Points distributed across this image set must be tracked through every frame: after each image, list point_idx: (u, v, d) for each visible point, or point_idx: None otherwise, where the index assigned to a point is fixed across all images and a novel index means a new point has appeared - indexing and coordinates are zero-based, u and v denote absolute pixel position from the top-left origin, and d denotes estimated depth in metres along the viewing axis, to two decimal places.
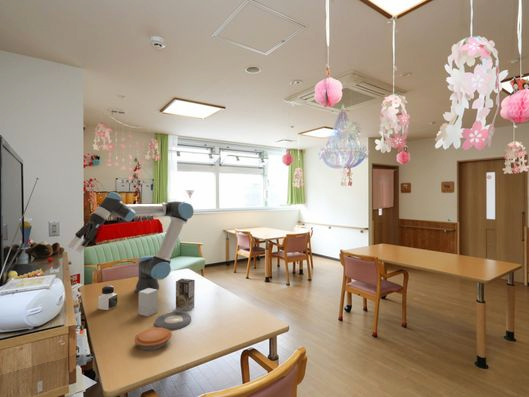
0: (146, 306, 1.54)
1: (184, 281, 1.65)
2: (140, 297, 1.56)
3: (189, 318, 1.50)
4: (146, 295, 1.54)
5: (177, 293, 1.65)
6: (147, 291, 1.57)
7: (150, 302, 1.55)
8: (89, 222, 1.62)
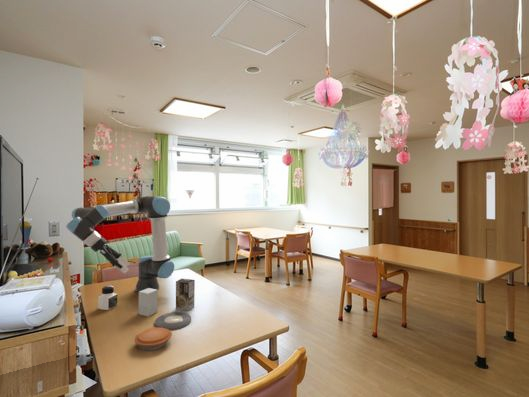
0: (146, 306, 1.54)
1: (184, 281, 1.65)
2: (140, 297, 1.56)
3: (189, 318, 1.50)
4: (146, 295, 1.54)
5: (177, 293, 1.65)
6: (147, 291, 1.57)
7: (150, 302, 1.55)
8: None
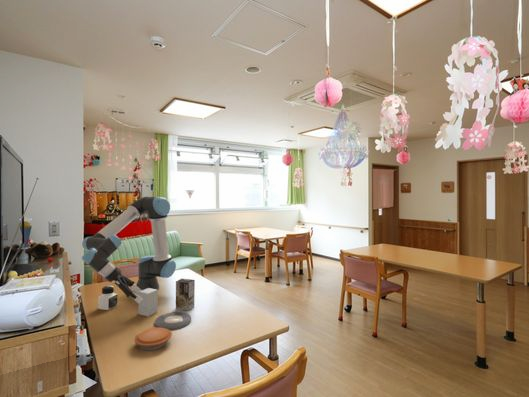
0: (146, 306, 1.54)
1: (184, 281, 1.65)
2: None
3: (189, 318, 1.50)
4: (146, 295, 1.54)
5: (177, 293, 1.65)
6: (147, 291, 1.57)
7: (150, 302, 1.55)
8: None
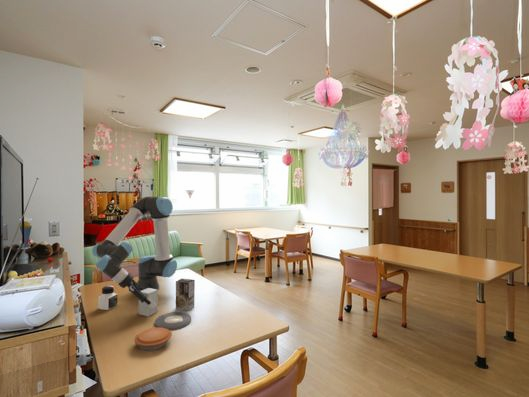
0: (146, 306, 1.54)
1: (184, 281, 1.65)
2: None
3: (189, 318, 1.50)
4: (146, 295, 1.54)
5: (177, 293, 1.65)
6: (147, 291, 1.57)
7: None
8: None
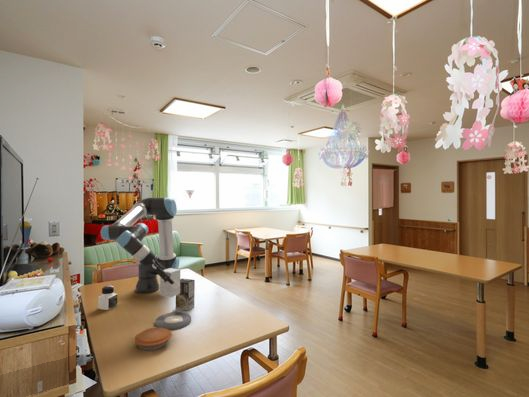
0: (169, 286, 1.44)
1: (184, 281, 1.65)
2: None
3: (189, 318, 1.50)
4: (168, 275, 1.44)
5: None
6: (169, 270, 1.47)
7: None
8: None
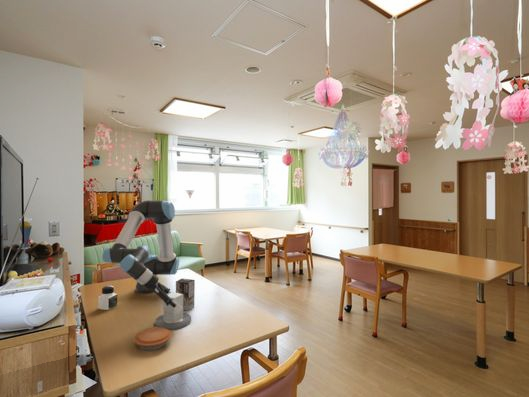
0: (172, 312, 1.44)
1: (184, 281, 1.65)
2: None
3: (189, 318, 1.50)
4: None
5: None
6: (172, 296, 1.47)
7: None
8: None
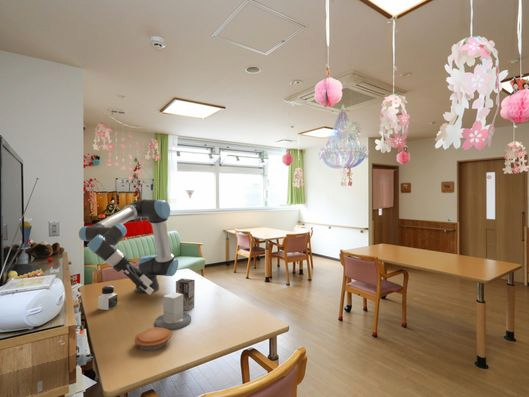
0: (172, 312, 1.44)
1: (184, 281, 1.65)
2: (165, 302, 1.46)
3: (189, 318, 1.50)
4: (171, 300, 1.45)
5: None
6: (172, 296, 1.47)
7: (176, 307, 1.45)
8: None
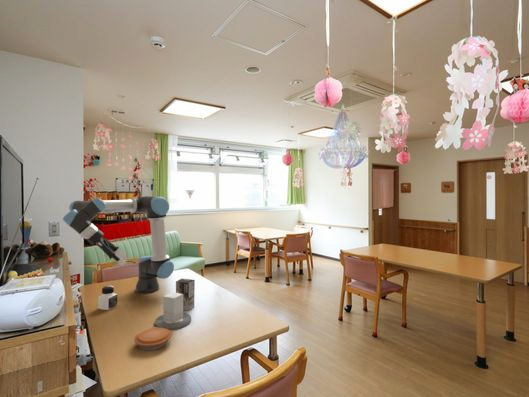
0: (172, 312, 1.44)
1: (184, 281, 1.65)
2: (165, 302, 1.46)
3: (189, 318, 1.50)
4: (171, 300, 1.45)
5: None
6: (172, 296, 1.47)
7: (176, 307, 1.45)
8: None
